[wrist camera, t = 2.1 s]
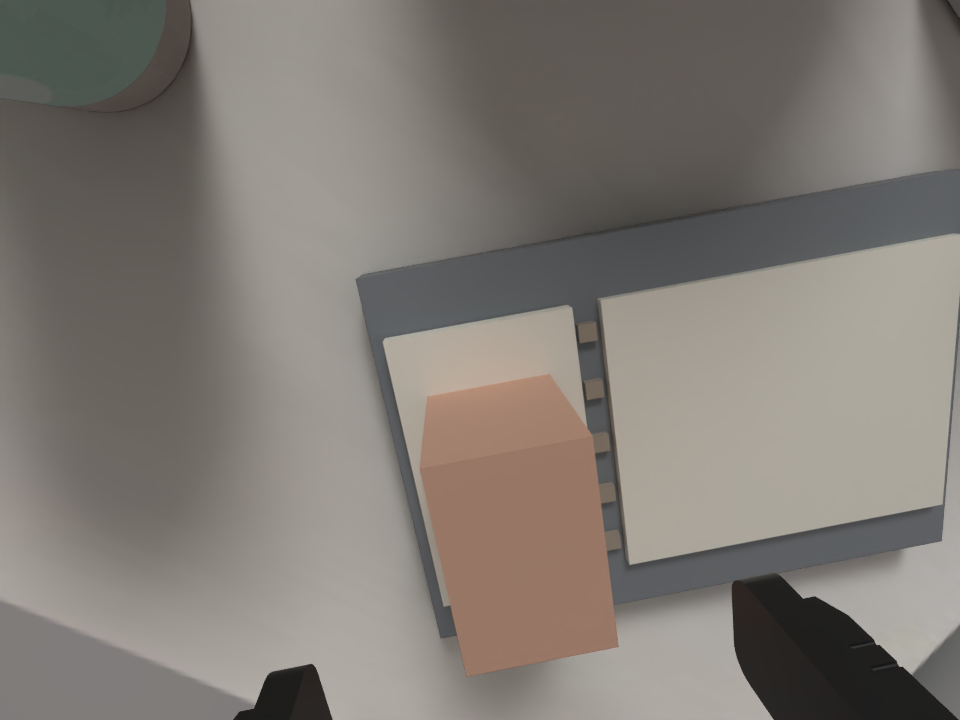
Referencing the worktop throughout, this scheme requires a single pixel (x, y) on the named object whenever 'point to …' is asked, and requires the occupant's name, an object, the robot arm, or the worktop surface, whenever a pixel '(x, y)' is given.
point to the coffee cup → (91, 51)
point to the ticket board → (735, 375)
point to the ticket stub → (507, 485)
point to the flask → (955, 6)
